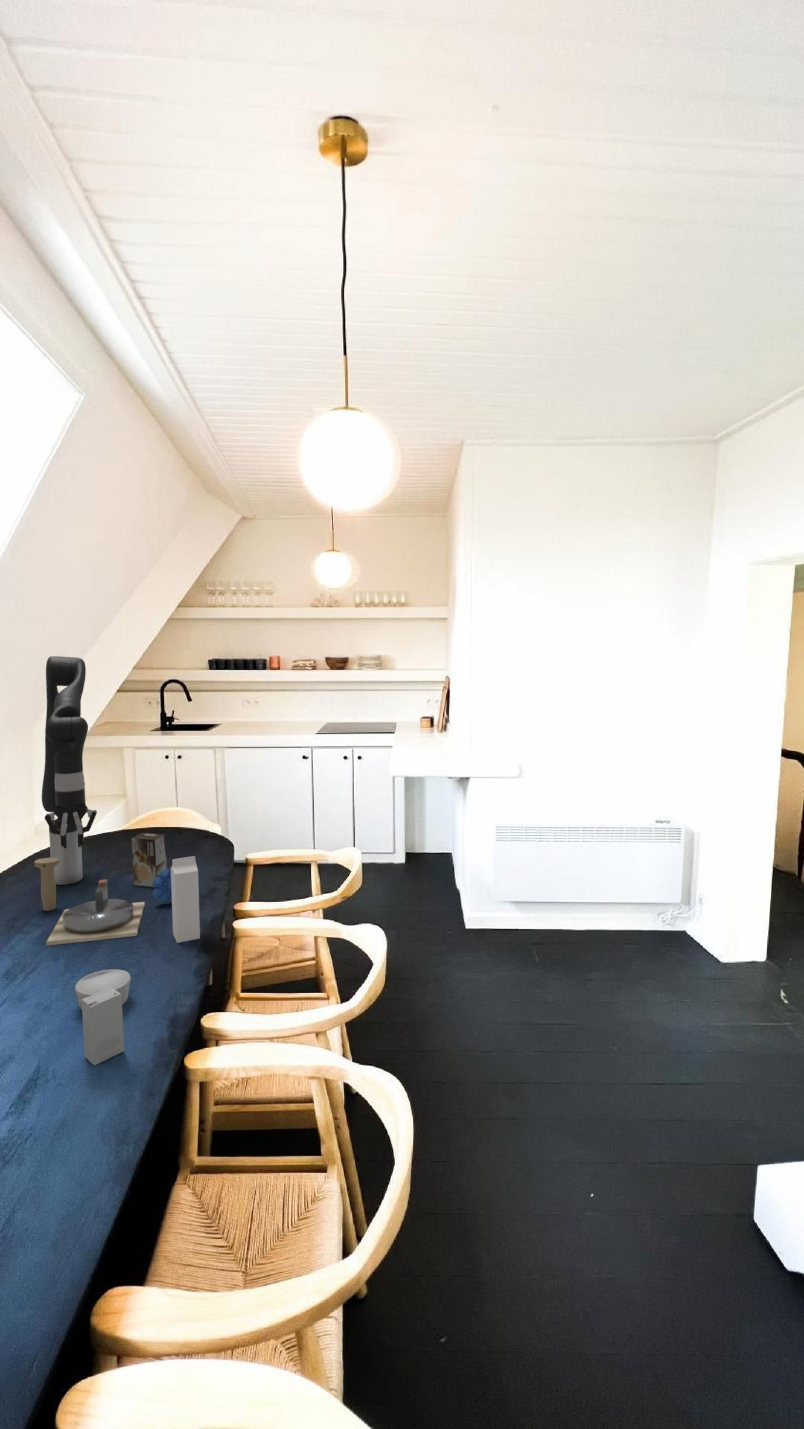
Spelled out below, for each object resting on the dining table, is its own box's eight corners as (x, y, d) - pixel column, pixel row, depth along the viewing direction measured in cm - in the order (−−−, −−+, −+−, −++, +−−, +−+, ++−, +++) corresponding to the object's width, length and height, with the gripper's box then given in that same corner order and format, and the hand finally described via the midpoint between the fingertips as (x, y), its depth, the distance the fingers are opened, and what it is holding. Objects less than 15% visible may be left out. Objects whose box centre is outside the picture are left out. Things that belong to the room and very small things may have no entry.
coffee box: (168, 881, 219) (167, 834, 217) (157, 887, 213) (155, 839, 211) (144, 878, 221) (142, 832, 220) (132, 885, 215) (130, 837, 213)
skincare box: (114, 1043, 130) (111, 985, 129) (125, 1052, 127) (123, 993, 126) (83, 1058, 125) (80, 997, 124) (93, 1067, 122) (90, 1006, 121)
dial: (71, 909, 192) (69, 882, 191) (137, 903, 197) (136, 876, 196) (56, 936, 174) (54, 906, 173) (129, 928, 179) (128, 900, 178)
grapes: (191, 895, 206) (190, 858, 205) (193, 903, 200) (192, 865, 199) (152, 901, 202) (150, 863, 201) (152, 909, 196) (151, 870, 194)
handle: (58, 911, 194) (55, 862, 192) (34, 913, 192) (32, 863, 191) (63, 905, 198) (61, 857, 197) (40, 906, 197) (37, 858, 195)
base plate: (65, 912, 193) (64, 908, 193) (144, 904, 199) (144, 901, 199) (46, 945, 172) (46, 941, 172) (136, 935, 178) (136, 931, 178)
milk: (200, 938, 176) (198, 859, 174) (176, 943, 173) (174, 862, 171) (195, 930, 182) (193, 852, 179) (172, 934, 179) (170, 856, 176)
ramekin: (116, 985, 152) (115, 963, 152) (141, 1001, 145) (140, 979, 145) (66, 1005, 144) (65, 982, 143) (91, 1024, 137) (89, 1000, 136)
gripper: (39, 792, 179) (43, 853, 181) (96, 788, 184) (98, 848, 186) (43, 786, 186) (47, 845, 188) (98, 783, 191) (100, 840, 193)
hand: (72, 846), depth 187 cm, fingers open, 3 cm apart
